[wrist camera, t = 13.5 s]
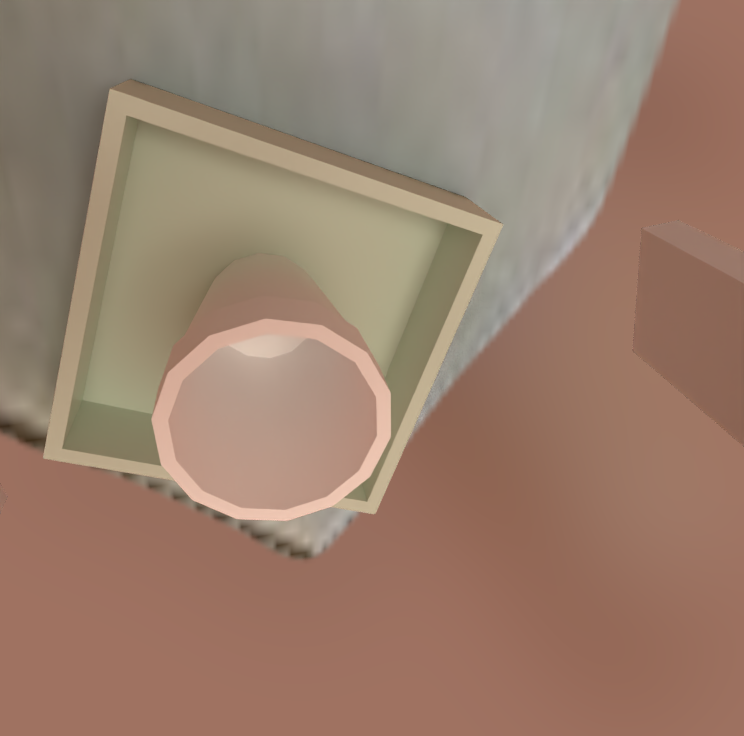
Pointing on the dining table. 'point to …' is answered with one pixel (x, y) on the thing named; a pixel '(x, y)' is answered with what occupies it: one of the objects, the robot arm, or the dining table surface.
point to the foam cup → (270, 397)
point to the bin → (241, 239)
